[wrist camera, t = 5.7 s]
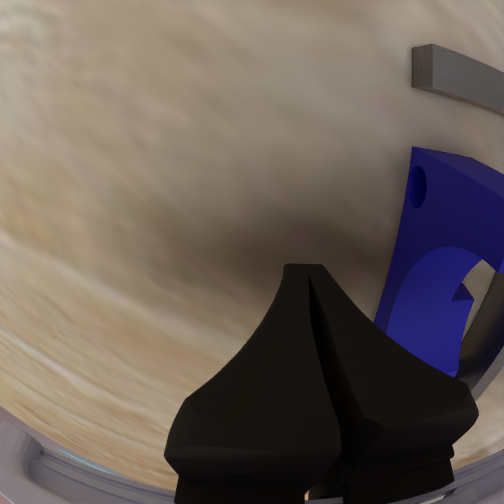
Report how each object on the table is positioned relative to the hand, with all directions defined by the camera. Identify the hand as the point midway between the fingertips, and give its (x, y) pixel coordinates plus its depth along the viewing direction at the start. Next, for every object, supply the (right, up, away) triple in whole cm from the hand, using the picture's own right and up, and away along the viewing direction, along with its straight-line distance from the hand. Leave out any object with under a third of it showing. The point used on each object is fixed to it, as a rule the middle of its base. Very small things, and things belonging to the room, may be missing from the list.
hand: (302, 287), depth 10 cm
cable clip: (+6, 0, +2) cm, 7 cm away
